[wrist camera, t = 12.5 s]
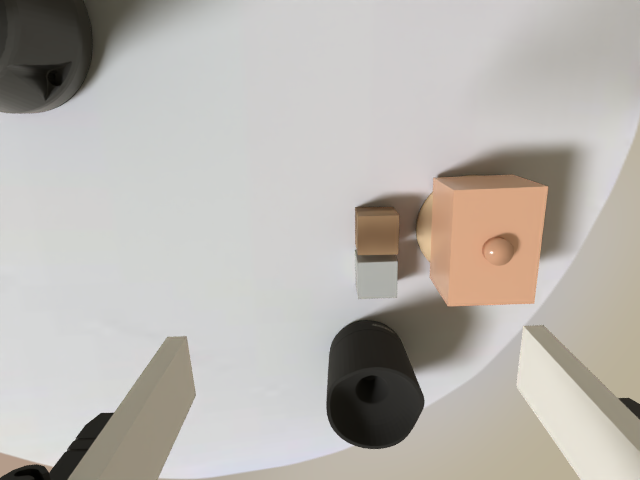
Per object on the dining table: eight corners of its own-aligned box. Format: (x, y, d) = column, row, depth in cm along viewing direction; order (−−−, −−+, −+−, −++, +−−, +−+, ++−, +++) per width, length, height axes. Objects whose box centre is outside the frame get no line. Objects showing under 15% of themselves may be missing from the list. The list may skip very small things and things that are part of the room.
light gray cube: (354, 250, 45) (357, 262, 41) (391, 248, 45) (397, 261, 41) (355, 283, 46) (358, 299, 43) (391, 282, 46) (397, 297, 42)
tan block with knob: (433, 177, 42) (457, 192, 34) (512, 174, 42) (554, 188, 34) (429, 277, 45) (450, 311, 38) (503, 274, 45) (539, 308, 37)
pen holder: (419, 364, 49) (441, 425, 40) (350, 396, 51) (355, 462, 41) (383, 302, 47) (397, 351, 37) (312, 337, 48) (308, 393, 39)
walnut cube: (355, 207, 44) (358, 216, 40) (392, 206, 44) (399, 215, 40) (355, 243, 45) (358, 255, 41) (391, 242, 45) (398, 254, 41)
